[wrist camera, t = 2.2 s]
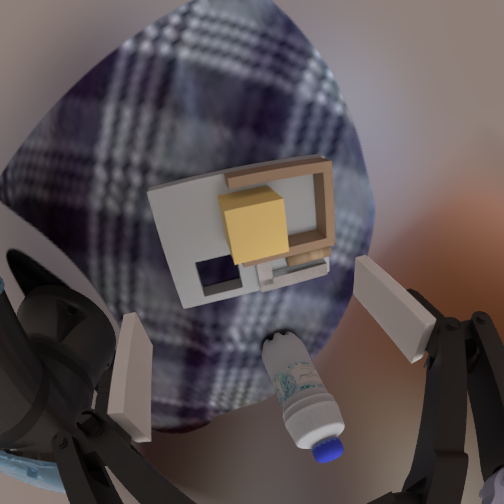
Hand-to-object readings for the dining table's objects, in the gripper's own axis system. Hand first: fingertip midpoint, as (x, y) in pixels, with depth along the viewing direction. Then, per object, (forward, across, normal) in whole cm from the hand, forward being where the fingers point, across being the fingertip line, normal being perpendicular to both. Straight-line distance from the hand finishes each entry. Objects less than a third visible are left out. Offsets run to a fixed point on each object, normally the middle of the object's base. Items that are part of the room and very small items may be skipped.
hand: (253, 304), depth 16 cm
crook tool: (+14, +7, -7) cm, 17 cm away
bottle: (+16, +5, -21) cm, 27 cm away
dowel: (+14, +9, -6) cm, 17 cm away
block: (+14, +2, 0) cm, 14 cm away
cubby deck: (+16, +2, -2) cm, 16 cm away
